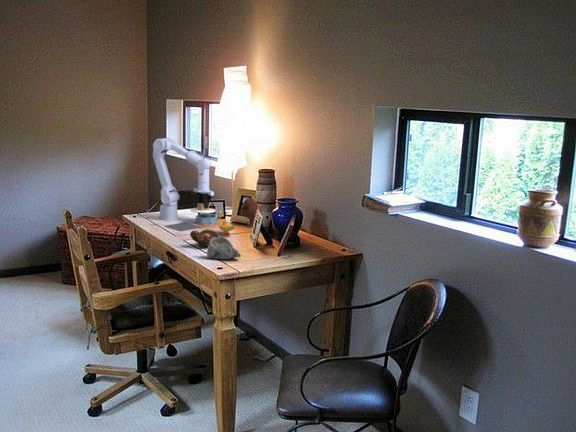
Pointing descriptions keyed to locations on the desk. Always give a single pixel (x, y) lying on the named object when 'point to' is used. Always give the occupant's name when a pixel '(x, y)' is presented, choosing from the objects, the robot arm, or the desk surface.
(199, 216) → the dish
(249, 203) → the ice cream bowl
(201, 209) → the lid
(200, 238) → the decorative turtle
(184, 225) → the mat
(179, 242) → the desk surface
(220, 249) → the mineral rock
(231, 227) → the magic lamp
